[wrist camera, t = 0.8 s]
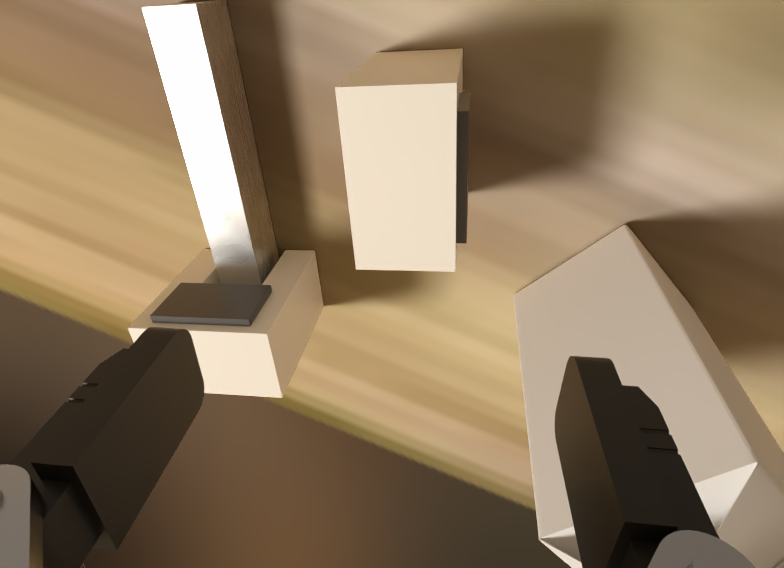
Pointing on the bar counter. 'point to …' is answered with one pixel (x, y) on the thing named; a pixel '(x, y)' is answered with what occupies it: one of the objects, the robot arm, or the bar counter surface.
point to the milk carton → (647, 391)
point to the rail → (215, 134)
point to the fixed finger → (242, 322)
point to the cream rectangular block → (406, 159)
